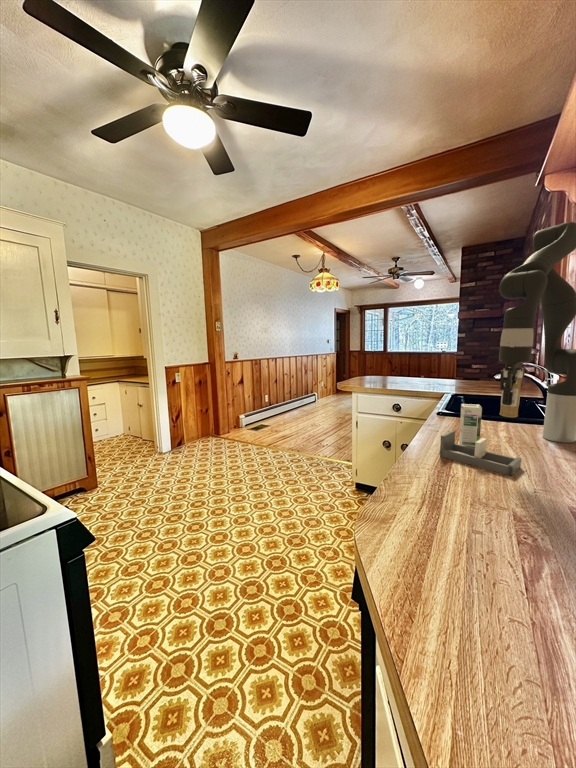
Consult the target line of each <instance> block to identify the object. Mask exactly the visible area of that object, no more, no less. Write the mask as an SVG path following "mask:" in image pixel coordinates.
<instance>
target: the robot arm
mask: <svg viewBox="0 0 576 768" xmlns="http://www.w3.org/2000/svg"><path fill="white" fill-rule="evenodd" d="M532 250H533V253H532V254H531V255H530V256H529V257H528V258H527V259H526V260H525V261H524V262H523V263H522V265H520V266H518V267H515V269H512V270H510V271H509V272H508V273H507V274H506V275H505V276H503V277H502V279H501V280H500V283H499V286H498V292H499V295H500V296H501V297H502V298H504V299H505V300H518V299H525V300H524V302H523V303H522V304H520V305H518V306H514V307H510V308H507V309H506V310H505V311H504V315H503V324H502V325H503V326H502V332H501V335H500V346H499V352H498V360H499V362H504V363H505V367H503V368H502V369H501V370H500V372H499V374H500V379H499V380H500V385H499V389H500V390H501V392H502V391H504V392H503V400H502V404H504V405H511V404H512V398H513V391H514V386H515V385H516V384H517V381H518V375H520V372H521V371H522V372H523V376H522V379H521V388H522V387H523V383H524V381H523V380H524V376H525V372H526V368H525V367H523V363H530V362H531V360H532V352H533V345H534V326H535V319H536V318H535V317H536V314H537V313H536V312H537V309H538V306H539V304H540V306H541V307H540V308H541V316H542V317H541V318H542V323H543V333H544V356H543V357H544V366H545V369H546V371H547V372H548V373H550V374H553V375H554V374H555V375H565V376H566V377H565V380H563V381H560V382H557V383H556V382H555V383H551V384H549V385H548V387H547V393H546V395H547V396H546V402H545V403H546V404H545V411H544V419H543V420H544V421H543V429H542V438H544V439H545V440H549V441H552V442H557V443H564V444H569V443H570V444H572V443H573V444H574V443H575V442H576V349H575V348H574V349H573V348H572V349H571V348H563V347H562V338H563V336H564V334H565V331H566V330H567V329H568V327H569V326H570V325H571V323H572V322H573V321H574V319H575V317H576V290H575V289H574V287H573V286H572V285H571V284H570V283H569V282H568V281H567V280H565V279H564V278H563V277H562V276H561V275H560V274H559V272H557V270H556V269H555V266H556V265H557V264H558V263H560V262H561V261H562V260H564V259H565V258H566V257H567V256H568V255H570V254H571V253H572V252H573V251H575V250H576V222H575V221H568V222H563V223H560V224H556V225H553V226H550V227H546V228H543V229H540V230H538V231H536V232H535V233H534V235H533V238H532ZM515 373H516V374H515ZM512 380H514V381H512ZM507 384H509V386H506V385H507Z"/></svg>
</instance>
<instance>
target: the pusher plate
mask: <svg viewBox="0 0 576 768" xmlns="http://www.w3.org/2000/svg"><path fill="white" fill-rule="evenodd" d="M487 439H488V438H484V437H481V438H480V440H478V441H476V442H475V447H474V448H475V454H474V457H478V458H481V457H483V456H484V455H485V454H486V451H487Z"/></svg>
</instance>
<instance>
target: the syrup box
mask: <svg viewBox="0 0 576 768" xmlns="http://www.w3.org/2000/svg"><path fill="white" fill-rule="evenodd" d="M482 413H483V407H482V406H481V405H480V404H472V403H469V404H468V403H461V404H460V420H459V423H460V424H459V438H458V441H459V445H463V446H468V447H472V448H475V442H476V441H478V440H480V439H481V438H480V437H481V426H482V424H481V423H482V415H483V414H482Z"/></svg>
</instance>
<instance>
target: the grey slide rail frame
mask: <svg viewBox="0 0 576 768" xmlns="http://www.w3.org/2000/svg"><path fill="white" fill-rule="evenodd" d="M455 441H456V430H454V429H452V430H450V431H448V432H445V433H443V434H441V435H440V446H439V457H442V458H446V459H448V460H452V461H456V462H459V463H463V464H467V465H470V466H474V467H478V468H481V469H485V470H488V471H490V472H491V471H492V472H495V473H499V474H502V475H506V476H508V477H509V476H510V477H513V475H515V473H516V472H517V471H518V470H519V469H521V467H522V457H519V456H516V457H513V456H508V455H504V454H500V453H495V452H492V451H487V450H486V454H485V455H484V456H483V457H481V458H478V457H474V454H475V447H470V446H463V445H461V444H460V443H456V442H455Z"/></svg>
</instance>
